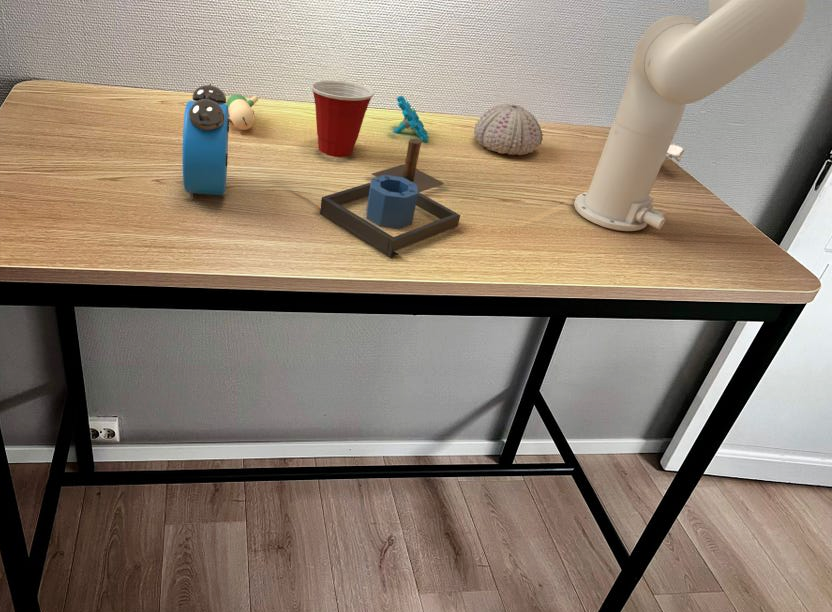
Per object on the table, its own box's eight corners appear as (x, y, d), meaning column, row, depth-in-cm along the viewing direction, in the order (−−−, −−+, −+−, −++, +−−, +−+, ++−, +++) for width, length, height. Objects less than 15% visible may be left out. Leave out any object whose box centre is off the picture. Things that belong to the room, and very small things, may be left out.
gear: (431, 144, 134) (401, 98, 131) (405, 162, 136) (374, 117, 133) (432, 131, 144) (404, 88, 140) (408, 148, 146) (379, 106, 143)
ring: (420, 223, 111) (427, 190, 108) (389, 234, 107) (395, 200, 104) (387, 204, 115) (393, 171, 112) (356, 214, 111) (361, 181, 107)
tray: (456, 231, 112) (460, 215, 110) (390, 258, 103) (393, 240, 101) (387, 192, 120) (389, 176, 118) (319, 213, 111) (321, 196, 109)
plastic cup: (353, 141, 135) (362, 76, 127) (372, 167, 127) (383, 98, 120) (297, 141, 131) (303, 74, 124) (313, 167, 123) (320, 97, 116)
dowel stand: (443, 188, 124) (453, 146, 119) (408, 200, 118) (417, 156, 114) (405, 168, 128) (413, 126, 124) (369, 179, 123) (376, 135, 118)
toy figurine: (220, 121, 139) (229, 143, 130) (210, 99, 136) (218, 120, 127) (259, 104, 139) (271, 124, 130) (250, 81, 136) (261, 101, 127)
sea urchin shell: (459, 144, 141) (468, 103, 136) (488, 128, 150) (498, 89, 145) (521, 167, 136) (533, 125, 131) (547, 148, 145) (560, 109, 140)
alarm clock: (189, 170, 116) (189, 75, 107) (228, 174, 117) (231, 79, 108) (182, 209, 106) (181, 107, 97) (225, 212, 107) (228, 111, 98)
